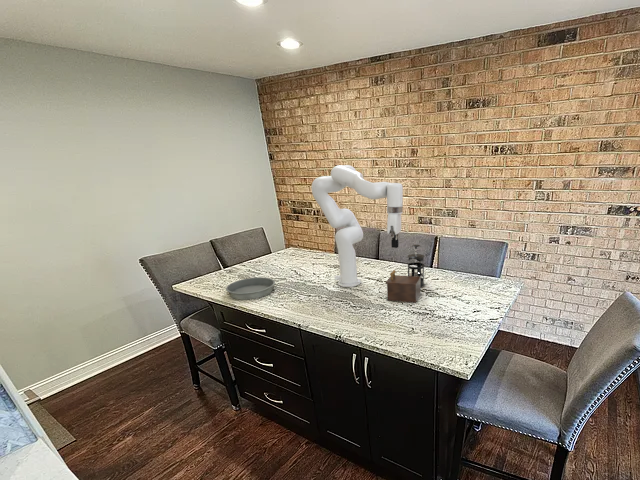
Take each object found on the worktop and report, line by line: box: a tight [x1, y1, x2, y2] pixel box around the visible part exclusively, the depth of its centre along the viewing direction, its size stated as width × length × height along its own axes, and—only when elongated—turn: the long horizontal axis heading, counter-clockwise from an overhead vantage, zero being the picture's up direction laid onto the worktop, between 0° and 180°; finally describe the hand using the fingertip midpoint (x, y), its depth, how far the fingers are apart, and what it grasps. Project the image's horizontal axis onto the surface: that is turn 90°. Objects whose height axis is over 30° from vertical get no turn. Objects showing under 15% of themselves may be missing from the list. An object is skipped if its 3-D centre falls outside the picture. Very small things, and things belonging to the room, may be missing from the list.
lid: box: [385, 269, 422, 286], centre depth 169 cm, size 15×12×5 cm
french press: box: [407, 244, 425, 288], centre depth 185 cm, size 12×9×23 cm
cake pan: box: [225, 276, 276, 301], centre depth 183 cm, size 25×25×4 cm
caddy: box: [386, 279, 422, 304], centre depth 172 cm, size 15×12×9 cm
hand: (394, 247), depth 170 cm, fingers closed
